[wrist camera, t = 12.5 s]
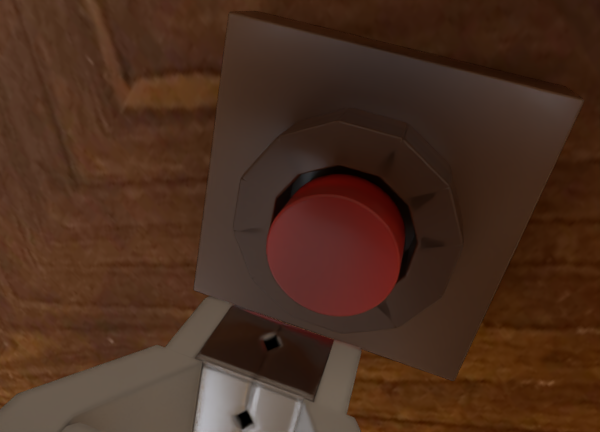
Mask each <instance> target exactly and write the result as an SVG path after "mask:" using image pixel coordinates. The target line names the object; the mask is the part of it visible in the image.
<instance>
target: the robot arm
mask: <svg viewBox="0 0 600 432" xmlns="http://www.w3.org/2000/svg"><path fill="white" fill-rule="evenodd" d="M333 341H334V343H333ZM332 344H333V345H332ZM330 351H331V352H330ZM329 354H330V355H329ZM360 355H361V348H360V347H357V346H354V345H351V344H347V343H344V342H341V341H338V340H332V339H330V338H327V337H324V336H321V335H318V334H315V333H312V332H309V331H306V330H303V329H300V328H297V327H294V326H291V325H288V324H285V323H283V322H281V321H278V320H275V319H272V318H270V317H267V316H264V315H262V314H259V313H256V312H254V311H251V310H248V309H246V308H243V307H240V306H238V305H233V304H231V303H228V302H226V301H223V300H220V299H217V298H215V297H212V296H209V297H207V298H206V299H204V300H203V301H202V303H201V304H200V305H199V306H198V307H197V309H196V310H195V311H194V312H193V314H192V315H191V316H190V317H189V318H188V320H187V321H186V322H185V323H184V325H183V326H182V327H181V328H180V329H179V331H178V332H177V333H176V334H175V336H174V337H173V338H172V339H171V340H170V342H169V343H168V344H167V345H166V347H165V348H164V347H162V346H159V345H156V346H153V347H150V348H147V349H144V350H141V351H138V352H136V353H133V354H130V355H127V356H124V357H121V358H118V359H116V360H113V361H110V362H107V363H104V364H101V365H98V366H96V367H93V368H90V369H87V370H84V371H81V372H78V373H76V374H73V375H70V376H67V377H64V378H61V379H58V380H55V381H53V382H50V383H47V384H44V385H41V386H38V387H35V388H33V389H30V390H27V391H24V392H21V393H18V394H17V395H16V396H14V397H13V398H12V399H11V400H10V401H9V402H8V403H7V404H6V405H5V406H3V407H2V408H1V409H0V432H361V431H360V428H359V426H358V424H357V422H356V420H355V418H354V417H351V416H349V415H346V414H347V410H348V406H349V402H350V398H351V393H352V389H353V385H354V381H355V376H356V372H357V368H358V364H359V360H360Z"/></svg>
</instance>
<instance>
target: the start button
mask: <svg viewBox="0 0 600 432" xmlns="http://www.w3.org/2000/svg"><path fill="white" fill-rule="evenodd" d="M404 246H405V226H404V221H403V218H402V215H401V213H400V211H399V209H398V207H397V206H396V204H395V203H394V201H393V200H392V199H391V197H390V196H389V195H388V194H387V193H386V192H385V191H383V190H382V189H381V188H380V187H378V186H377V185H375V184H374V183H372V182H370V181H368V180H366V179H363V178H360V177H357V176H353V175H347V174H331V175H325V176H321V177H318V178H316V179H313V180H311V181H309V182H308V183H306V184H305V185H303V186H302V187H301V188H300V189H299V190H298V191H297V192H296V193H295V194H294V195H293V196H292V198H291V199H290V200H289V201H288V202H287V204H286V205H285V206H284V207H283V209H282V210H281V211H280V212H279V213H278V215H277V216H276V217H275V219H274V221H273V222H272V224H271V227H270V229H269V232H268V235H267V242H266V254H267V261H268V264H269V268H270V270H271V273H272V275H273V277H274V279H275V280H276V282H277V283H278V285H279V286H280V287H281V289H282V290H283V291H284V292H285V293H286V294H287V295H288V296H289V297H290V298H291V299H293V300H294V301H295V302H297V303H298V304H300V305H301V306H303V307H305V308H307V309H309V310H311V311H314V312H316V313H320V314H323V315H329V316H339V317H342V316H352V315H357V314H361V313H364V312H366V311H368V310H371V309H372V308H374V307H376V306H377V305H379V304H380V303H381V302H382V301H384V300H385V299H386V298H387V296H388V295H389V294H390V293H391V291H392V290H393V288H394V287H395V284H396V282H397V280H398V277H399V273H400V268H401V262H402V257H403V251H404Z"/></svg>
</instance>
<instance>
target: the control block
mask: <svg viewBox="0 0 600 432" xmlns="http://www.w3.org/2000/svg"><path fill="white" fill-rule="evenodd" d="M583 103H584V99H583V98H581V97H580V96H578V95H577V94H575V93H574V92H572V91H571V90H570V89H568V88H567V87H565V86H561V85H556V84H552V83H548V82H544V81H540V80H536V79H532V78H528V77H524V76H520V75H516V74H511V73H507V72H503V71H499V70H495V69H491V68H487V67H483V66H479V65H475V64H471V63H467V62H462V61H458V60H454V59H450V58H446V57H442V56H438V55H434V54H430V53H426V52H422V51H417V50H413V49H409V48H405V47H401V46H397V45H393V44H389V43H385V42H381V41H377V40H372V39H368V38H364V37H360V36H356V35H352V34H348V33H344V32H340V31H336V30H332V29H328V28H323V27H319V26H315V25H311V24H307V23H303V22H299V21H295V20H291V19H287V18H283V17H278V16H274V15H270V14H266V13H262V12H258V11H238V12H229V15H228V23H227V31H226V39H225V47H224V55H223V63H222V70H221V78H220V86H219V94H218V102H217V110H216V117H215V125H214V133H213V141H212V149H211V157H210V164H209V172H208V180H207V188H206V196H205V204H204V211H203V219H202V227H201V235H200V243H199V251H198V259H197V266H196V274H195V282H194V290H195V291H197V292H200V293H203V294H206V295H209V296H212V297H215V298H217V299H220V300H223V301H226V302H229V303H232V304H234V305H238V306H240V307H243V308H246V309H249V310H252V311H254V312H257V313H260V314H263V315H266V316H269V317H271V318H274V319H277V320H280V321H283V322H286V323H289V324H291V325H294V326H297V327H300V328H303V329H306V330H309V331H311V332H314V333H317V334H320V335H323V336H326V337H329V338H331V339H334V340H338V341H341V342H344V343H347V344H351V345H354V346H357V347H360V348H361V349H363V350H366V351H368V352H371V353H374V354H377V355H380V356H383V357H386V358H388V359H391V360H394V361H397V362H400V363H403V364H406V365H408V366H411V367H414V368H417V369H420V370H423V371H426V372H428V373H431V374H434V375H437V376H440V377H443V378H445V379H448V380H451V381H454V380H455V379H456V376H457V374H458V372H459V370H460V368H461V366H462V363H463V361H464V359H465V357H466V355H467V353H468V351H469V348H470V346H471V344H472V342H473V340H474V338H475V336H476V333H477V331H478V329H479V327H480V325H481V323H482V320H483V318H484V316H485V314H486V312H487V310H488V308H489V305H490V303H491V301H492V299H493V297H494V295H495V292H496V290H497V288H498V286H499V284H500V282H501V280H502V277H503V275H504V273H505V271H506V269H507V267H508V265H509V262H510V260H511V258H512V256H513V254H514V252H515V249H516V247H517V245H518V243H519V241H520V239H521V237H522V234H523V232H524V230H525V228H526V226H527V224H528V222H529V219H530V217H531V215H532V213H533V211H534V209H535V206H536V204H537V202H538V200H539V198H540V196H541V194H542V191H543V189H544V187H545V185H546V183H547V181H548V179H549V176H550V174H551V172H552V170H553V168H554V166H555V163H556V161H557V159H558V157H559V155H560V153H561V151H562V148H563V146H564V144H565V142H566V140H567V138H568V135H569V133H570V131H571V129H572V127H573V125H574V123H575V120H576V118H577V116H578V114H579V112H580V110H581V108H582V105H583ZM331 174H347V175H353V176H357V177H360V178H363V179H366V180H368V181H370V182H372V183H374V184H375V185H377V186H378V187H380V188H381V189H382V190H383V191H385V192H386V193H387V194H388V195H389V196H390V197H391V199H392V200H393V201H394V203H395V204H396V206H397V207H398V209H399V211H400V213H401V215H402V218H403V221H404V226H405V246H404V251H403V257H402V262H401V268H400V273H399V277H398V280H397V282H396V284H395V287H394V288H393V290H392V291H391V293H390V294H389V295H388V296H387V298H386V299H385V300H384V301H382V302H381V303H380V304H379V305H377V306H376V307H374V308H372V309H371V310H368V311H366V312H364V313H361V314H357V315H352V316H342V317H339V316H329V315H323V314H320V313H316V312H314V311H311V310H309V309H307V308H305V307H303V306H301V305H300V304H298V303H297V302H295V301H294V300H293V299H291V298H290V297H289V296H288V295H287V294H286V293H285V292H284V291H283V290H282V289H281V287H280V286H279V285H278V283H277V282H276V280H275V279H274V277H273V275H272V273H271V270H270V268H269V264H268V261H267V254H266V242H267V235H268V232H269V229H270V227H271V224H272V222H273V221H274V219H275V217H276V216H277V215H278V213H279V212H280V211H281V210H282V209H283V207H284V206H285V205H286V204H287V202H288V201H289V200H290V199H291V198H292V196H293V195H294V194H295V193H296V192H297V191H298V190H299V189H300V188H301V187H302V186H303V185H305V184H306V183H308V182H309V181H311V180H313V179H316V178H318V177H321V176H325V175H331Z"/></svg>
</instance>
